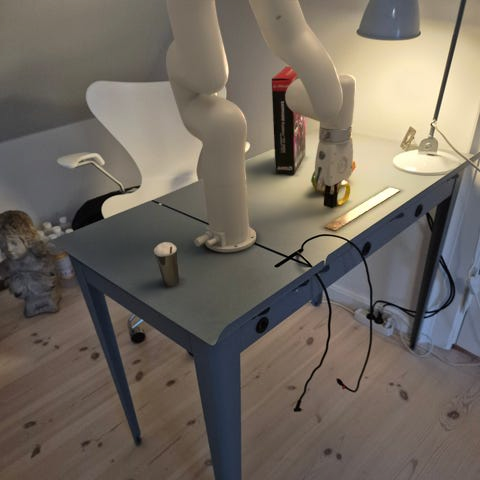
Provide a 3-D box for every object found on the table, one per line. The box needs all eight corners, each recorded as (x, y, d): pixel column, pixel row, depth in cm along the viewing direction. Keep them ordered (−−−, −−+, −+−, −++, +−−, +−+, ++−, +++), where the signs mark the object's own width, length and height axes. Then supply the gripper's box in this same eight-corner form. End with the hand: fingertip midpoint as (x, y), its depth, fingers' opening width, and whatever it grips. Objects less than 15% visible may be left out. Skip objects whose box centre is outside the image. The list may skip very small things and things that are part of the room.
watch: (343, 198, 124) (345, 177, 120) (351, 200, 122) (353, 179, 119) (329, 205, 121) (331, 184, 117) (338, 208, 119) (340, 186, 115)
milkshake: (169, 292, 94) (160, 250, 87) (157, 282, 97) (148, 240, 91) (188, 284, 95) (181, 242, 89) (175, 274, 99) (168, 233, 93)
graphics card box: (294, 175, 139) (295, 77, 122) (273, 174, 141) (270, 78, 124) (305, 157, 152) (307, 65, 135) (285, 156, 154) (285, 66, 137)
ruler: (335, 231, 109) (335, 230, 109) (324, 227, 111) (324, 226, 111) (399, 191, 125) (399, 190, 125) (389, 188, 127) (389, 187, 127)
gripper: (328, 144, 101) (323, 220, 112) (366, 128, 109) (358, 200, 120) (302, 138, 105) (300, 212, 116) (340, 123, 113) (335, 193, 124)
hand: (330, 206), depth 118 cm, fingers closed
